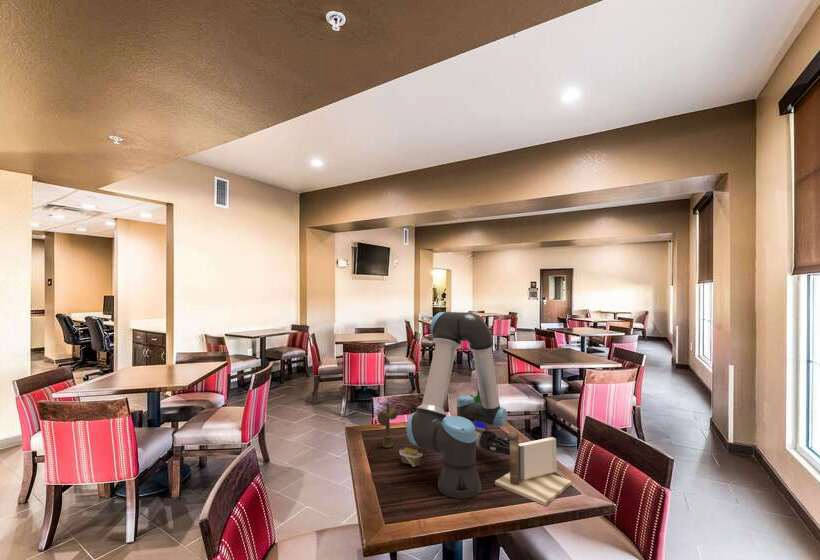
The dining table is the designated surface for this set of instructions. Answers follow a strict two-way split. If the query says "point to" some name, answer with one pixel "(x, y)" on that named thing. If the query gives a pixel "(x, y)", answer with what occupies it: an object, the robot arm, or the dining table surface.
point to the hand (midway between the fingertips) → (537, 456)
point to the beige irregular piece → (410, 457)
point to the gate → (537, 458)
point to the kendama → (387, 424)
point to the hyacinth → (477, 398)
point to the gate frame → (530, 479)
